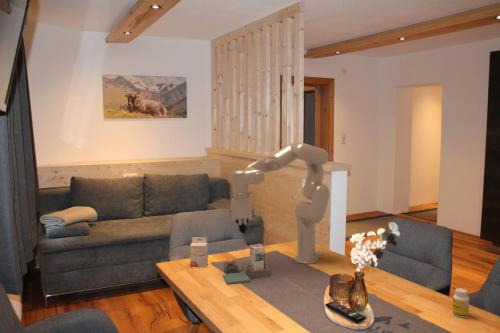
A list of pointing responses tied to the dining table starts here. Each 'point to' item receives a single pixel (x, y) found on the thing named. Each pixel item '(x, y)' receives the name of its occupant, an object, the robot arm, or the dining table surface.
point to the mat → (236, 278)
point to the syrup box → (257, 257)
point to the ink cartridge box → (199, 252)
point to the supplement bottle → (461, 303)
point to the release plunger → (230, 260)
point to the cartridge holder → (258, 272)
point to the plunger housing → (230, 268)
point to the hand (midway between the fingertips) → (242, 232)
